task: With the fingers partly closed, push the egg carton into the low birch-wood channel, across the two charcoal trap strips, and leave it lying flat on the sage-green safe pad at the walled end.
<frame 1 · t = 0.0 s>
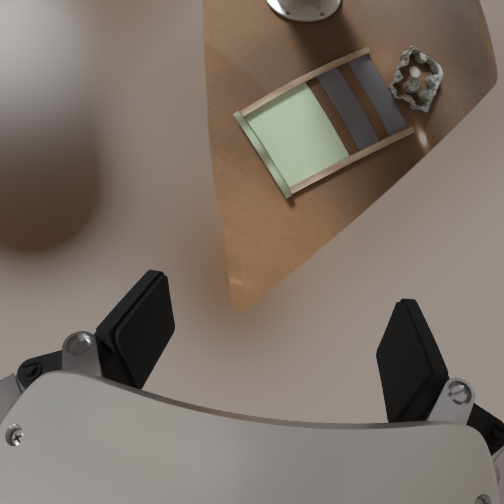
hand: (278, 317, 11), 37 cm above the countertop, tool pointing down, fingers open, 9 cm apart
safe pad: (328, 118, 39), on the countertop
trap strips: (364, 101, 36), on the countertop
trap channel: (328, 118, 39), on the countertop
egg carton: (412, 80, 33), on the countertop
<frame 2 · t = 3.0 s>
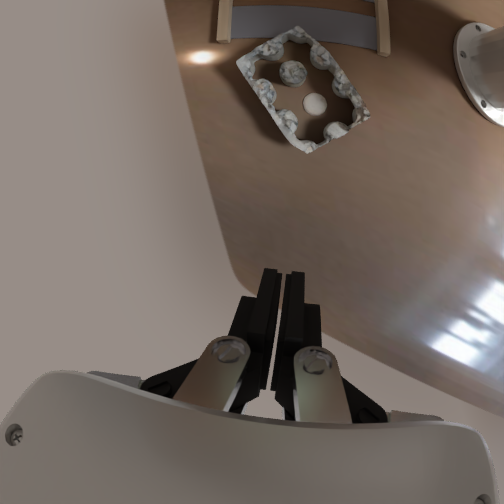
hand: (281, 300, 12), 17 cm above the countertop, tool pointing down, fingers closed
egg carton: (302, 91, 22), on the countertop
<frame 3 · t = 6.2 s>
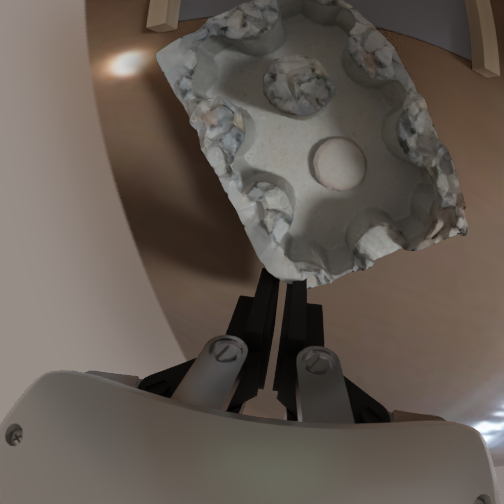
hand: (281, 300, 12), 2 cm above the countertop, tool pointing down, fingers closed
egg carton: (315, 130, 10), on the countertop, touching gripper, trap strips
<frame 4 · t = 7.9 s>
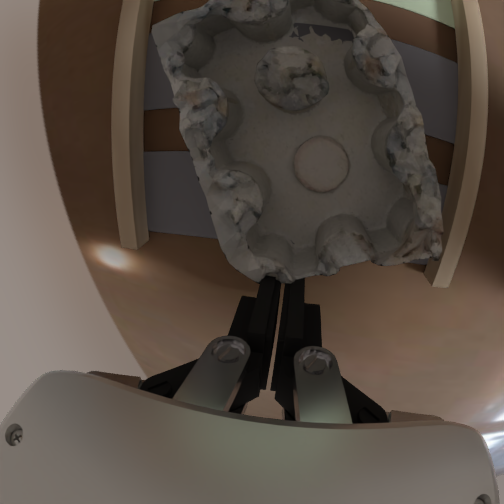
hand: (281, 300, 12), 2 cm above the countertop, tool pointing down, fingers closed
trap strips: (300, 133, 10), on the countertop
egg carton: (303, 126, 10), on the countertop, touching gripper, trap strips
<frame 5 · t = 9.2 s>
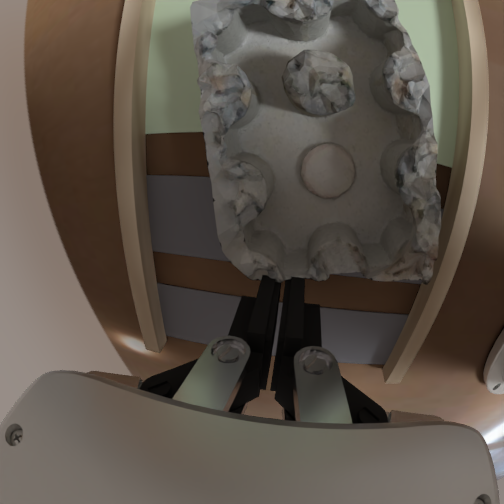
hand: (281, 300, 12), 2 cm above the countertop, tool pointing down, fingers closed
safe pad: (301, 137, 10), on the countertop
trap strips: (285, 285, 13), on the countertop
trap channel: (301, 137, 10), on the countertop
egg carton: (317, 130, 10), on the countertop, touching gripper, safe pad, trap strips
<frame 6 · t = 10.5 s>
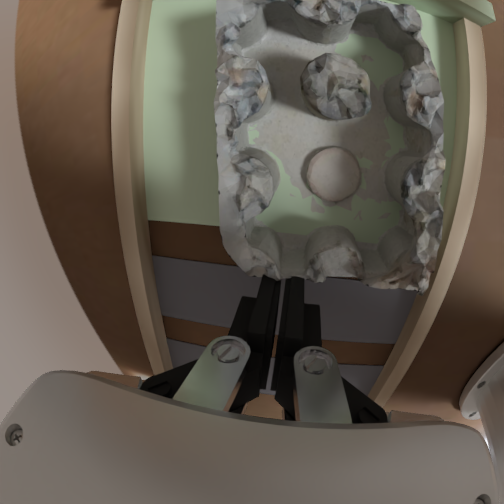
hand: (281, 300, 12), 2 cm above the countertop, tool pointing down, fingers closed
safe pad: (291, 233, 12), on the countertop
trap strips: (276, 346, 15), on the countertop
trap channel: (291, 233, 12), on the countertop
egg carton: (327, 133, 10), on the countertop, touching gripper, safe pad
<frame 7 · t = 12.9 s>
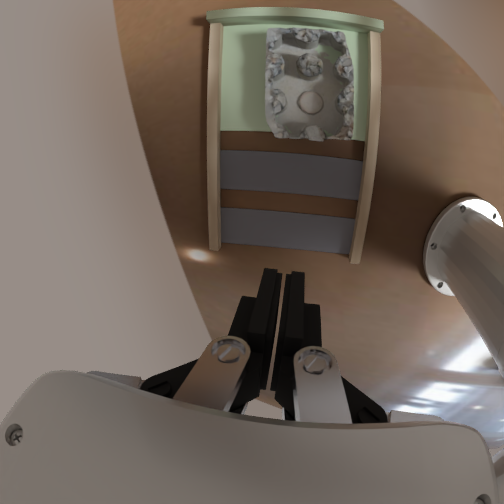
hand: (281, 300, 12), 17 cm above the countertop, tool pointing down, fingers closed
safe pad: (292, 132, 24), on the countertop
trap strips: (288, 202, 27), on the countertop
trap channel: (292, 132, 24), on the countertop
egg carton: (307, 86, 22), on the countertop, touching safe pad
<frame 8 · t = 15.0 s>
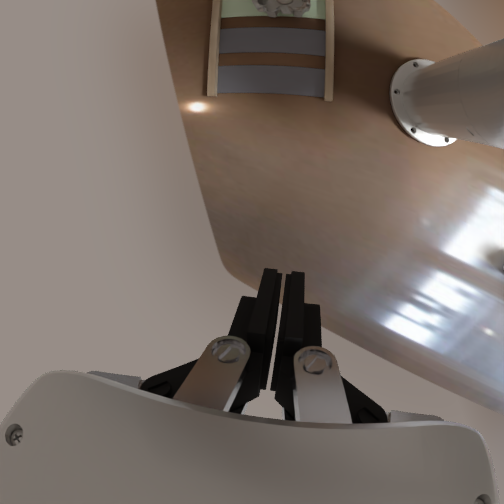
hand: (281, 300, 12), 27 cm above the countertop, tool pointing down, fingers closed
safe pad: (272, 15, 26), on the countertop
trap strips: (271, 58, 29), on the countertop
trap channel: (272, 15, 26), on the countertop
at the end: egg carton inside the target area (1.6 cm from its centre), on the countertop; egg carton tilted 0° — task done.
